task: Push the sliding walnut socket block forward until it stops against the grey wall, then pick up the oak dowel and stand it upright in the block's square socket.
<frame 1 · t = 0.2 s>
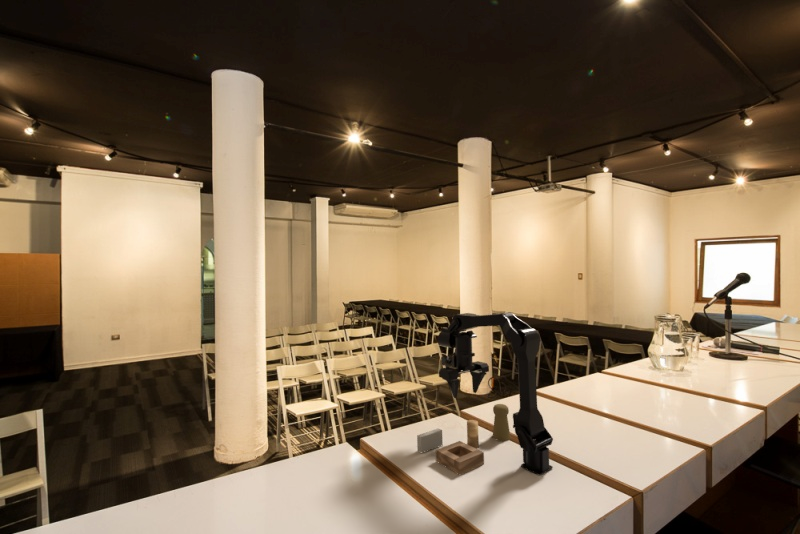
hand: (465, 395, 135), 14 cm above the table, tool pointing down, fingers open, 9 cm apart
cork: (501, 437, 134), on the table
dowel: (473, 446, 127), on the table
socket block: (459, 456, 117), point 2 cm above the table, slide at 0.0 cm
wall: (430, 448, 127), on the table
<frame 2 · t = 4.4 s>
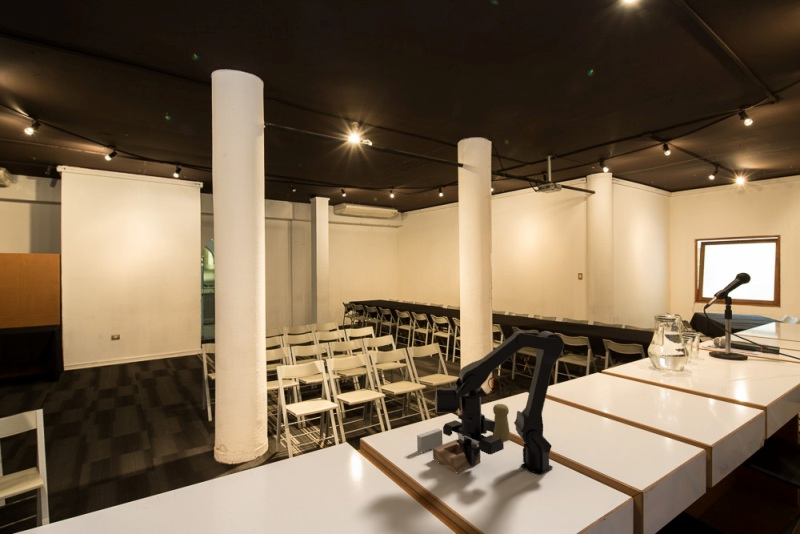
hand: (472, 465, 113), 1 cm above the table, tool pointing down, fingers closed
socket block: (456, 455, 118), point 2 cm above the table, slide at 1.4 cm, touching gripper
everything else where it was.
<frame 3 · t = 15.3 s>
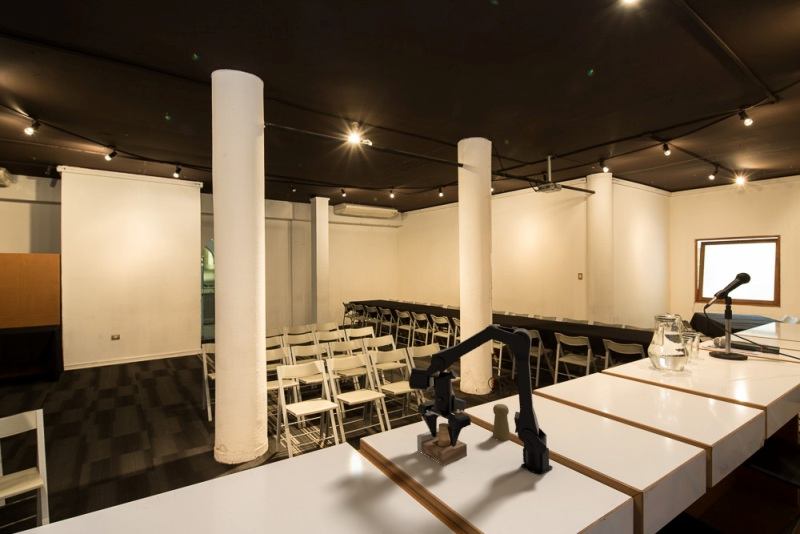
hand: (443, 441, 123), 4 cm above the table, tool pointing down, fingers open, 8 cm apart
dowel: (444, 450, 123), point 1 cm above the table, touching socket block
socket block: (443, 448, 123), point 2 cm above the table, slide at 7.0 cm, touching dowel
everything else where it was.
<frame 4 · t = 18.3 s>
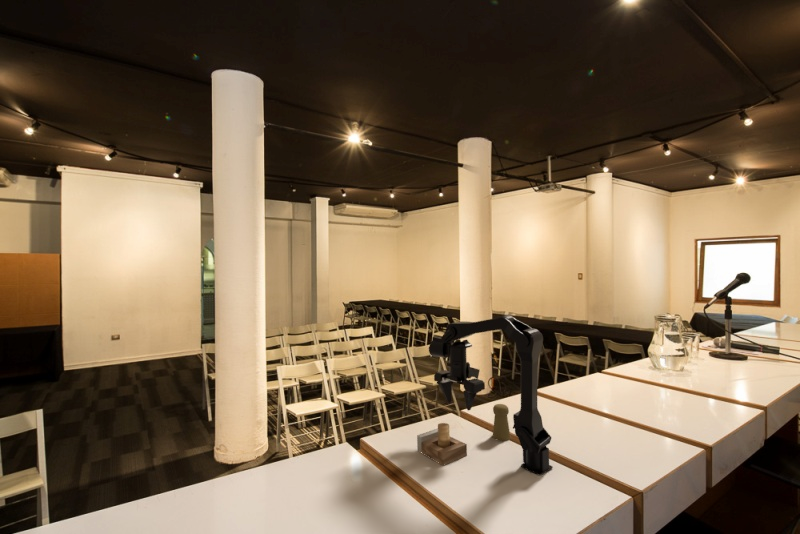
hand: (459, 406, 131), 12 cm above the table, tool pointing down, fingers open, 9 cm apart
nothing on the table moved.
at the end: socket block slide at 7.0 cm; dowel 0.0 cm from the socket block (horizontally); dowel tilted 1° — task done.
